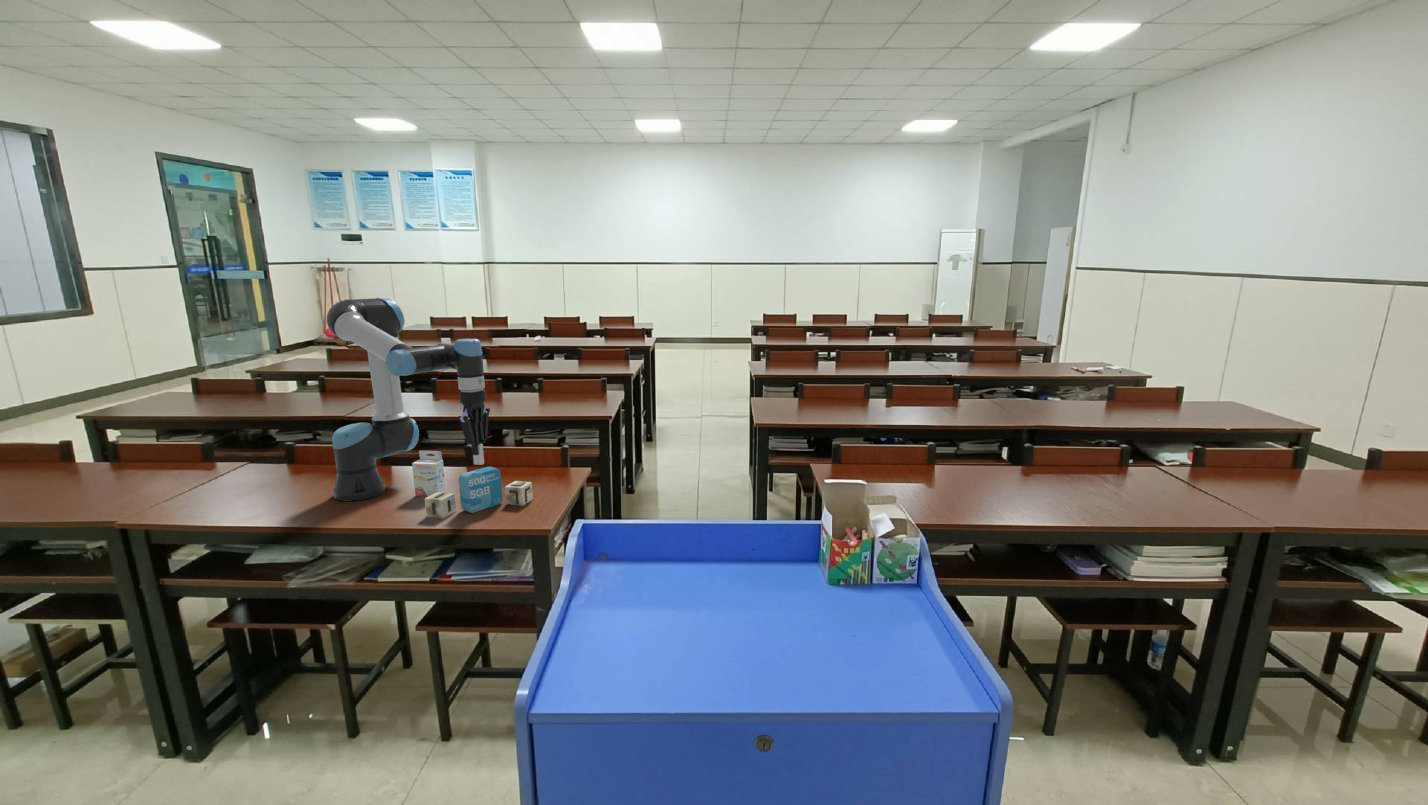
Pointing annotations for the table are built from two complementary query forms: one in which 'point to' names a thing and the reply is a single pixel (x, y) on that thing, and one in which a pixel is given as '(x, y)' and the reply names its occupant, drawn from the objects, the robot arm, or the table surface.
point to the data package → (480, 489)
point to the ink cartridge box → (428, 474)
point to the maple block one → (440, 505)
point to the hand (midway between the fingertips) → (479, 463)
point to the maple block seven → (519, 493)
